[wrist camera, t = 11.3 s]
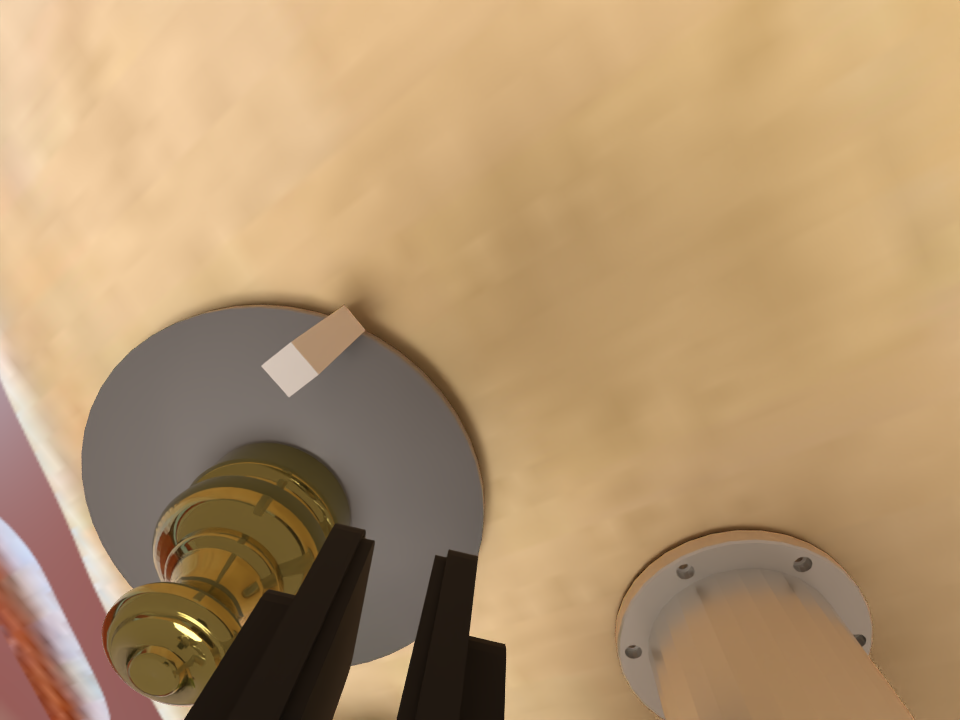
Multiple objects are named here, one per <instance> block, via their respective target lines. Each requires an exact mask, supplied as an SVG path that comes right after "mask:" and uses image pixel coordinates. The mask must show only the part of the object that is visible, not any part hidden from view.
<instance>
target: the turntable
mask: <svg viewBox="0 0 960 720" xmlns="http://www.w3.org/2000/svg"><path fill="white" fill-rule="evenodd" d="M253 443H277V444H282V445H287V446H290V447H293V448H296V449H299V450H301V451H303V452H305V453H307V454H309V455H311V456H312V457H314V458H315V459H317V460H318V461H319V462H321V463H322V464H323V465H324V466H325V467H326V468H327V469H328V470H329V471H330V472H331V473H332V474H333V475H334V476H335V478H336V479H337V481H338V482H339V484H340V485H341V487H342V489H343V491H344V493H345V495H346V498H347V501H348V505H349V510H350V526H352V527H356V528H360V529H365V530H366V536H365V538H366V539H370V540H374V541H375V546H374V551H373V556H372V562H371V567H370V572H369V577H368V582H367V587H366V592H365V598H364V603H363V608H362V613H361V618H360V623H359V629H358V634H357V639H356V644H355V649H354V654H353V659H352V663H351V666H353V665H358V664H362V663H367V662H370V661H373V660H376V659H378V658H381V657H384V656H387V655H390V654H392V653H394V652H396V651H398V650H400V649H402V648H404V647H406V646H408V645H409V644H411V643H412V642H414V641H415V639H416V635H417V630H418V626H419V622H420V618H421V613H422V609H423V605H424V601H425V596H426V592H427V588H428V584H429V579H430V575H431V571H432V567H433V562H434V558H435V555H439V556H443V557H447V554H448V550H449V549H450V550H454V551H459V552H463V553H467V554H471V555H476V556H478V553H479V549H480V544H481V540H482V531H483V519H484V494H483V482H482V478H481V473H480V469H479V464H478V460H477V457H476V454H475V452H474V449H473V446H472V443H471V441H470V438H469V436H468V434H467V432H466V430H465V428H464V426H463V424H462V422H461V421H460V419H459V417H458V415H457V413H456V412H455V410H454V409H453V407H452V406H451V405H450V403H449V402H448V400H447V399H446V398H445V396H444V395H443V393H442V392H441V391H440V389H439V388H438V387H437V386H436V385H435V384H434V383H433V382H432V381H431V380H430V379H429V378H428V377H427V375H426V374H425V373H424V372H423V371H422V370H421V369H420V368H419V367H417V366H416V365H415V364H414V363H413V362H411V361H410V360H409V359H408V358H407V357H405V356H404V355H403V354H402V353H401V352H400V351H398V350H397V349H395V348H393V347H392V346H390V345H389V344H387V343H386V342H384V341H383V340H381V339H380V338H378V337H377V336H375V335H373V334H371V333H369V332H367V331H365V329H364V328H363V326H362V325H361V324H360V323H359V322H358V320H357V319H356V318H355V317H354V316H353V314H352V313H351V312H350V311H349V310H348V308H347V307H346V306H345V305H343V306H342V307H341V308H339V309H338V310H336V311H335V312H333V313H332V314H331V315H329V316H328V315H326V314H323V313H319V312H314V311H310V310H305V309H300V308H296V307H289V306H277V305H264V304H263V305H244V306H233V307H228V308H222V309H217V310H212V311H208V312H205V313H202V314H199V315H196V316H193V317H190V318H188V319H185V320H182V321H180V322H177V323H175V324H173V325H171V326H169V327H167V328H165V329H163V330H161V331H160V332H158V333H156V334H154V335H152V336H151V337H149V338H148V339H146V340H145V341H144V342H142V343H141V344H140V345H138V346H137V347H136V348H134V349H133V350H132V351H131V352H130V353H129V354H128V355H127V356H126V357H125V358H124V359H123V360H122V361H121V362H120V363H119V364H118V365H117V366H116V367H115V368H114V370H113V371H112V372H111V374H110V375H109V377H108V378H107V380H106V381H105V383H104V384H103V385H102V387H101V389H100V391H99V393H98V395H97V397H96V399H95V401H94V403H93V405H92V408H91V410H90V414H89V417H88V421H87V424H86V427H85V431H84V439H83V446H82V480H83V486H84V492H85V498H86V502H87V506H88V509H89V512H90V516H91V519H92V522H93V525H94V527H95V529H96V531H97V534H98V536H99V538H100V540H101V542H102V545H103V546H104V548H105V550H106V551H107V553H108V555H109V556H110V558H111V560H112V561H113V563H114V565H115V566H116V568H117V569H118V570H119V571H120V573H121V574H122V575H123V577H124V578H125V579H126V581H127V582H128V583H129V585H130V586H131V587H132V588H133V589H134V588H136V587H139V586H141V585H145V584H149V583H155V582H161V581H160V579H159V577H158V575H157V572H156V569H155V566H154V562H153V555H152V539H153V534H154V529H155V526H156V523H157V521H158V519H159V517H160V515H161V514H162V512H163V510H164V509H165V508H166V506H167V505H168V504H169V503H170V502H171V501H172V500H173V499H174V498H175V497H176V496H178V495H179V494H180V493H182V492H183V491H185V490H186V489H188V488H189V487H190V485H191V484H192V483H193V481H194V480H195V479H196V478H197V477H198V476H199V475H200V474H202V473H203V472H204V471H206V470H207V469H209V468H211V467H212V466H213V465H214V464H215V463H216V462H217V461H218V460H219V459H220V458H221V457H223V456H224V455H225V454H227V453H228V452H230V451H232V450H234V449H236V448H238V447H241V446H244V445H248V444H253Z"/></svg>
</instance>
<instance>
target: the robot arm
mask: <svg viewBox="0 0 960 720" xmlns="http://www.w3.org/2000/svg"><path fill="white" fill-rule="evenodd" d="M365 536H366V530H365V529H360V528H356V527H352V526H348V525H343V524H339V523H336V524H335V525H334V526H333V528H332V529H331V531H330V533H329V535H328V537H327V539H326V540H325V542H324V544H323V546H322V548H321V550H320V551H319V553H318V555H317V557H316V559H315V561H314V562H313V564H312V566H311V568H310V570H309V572H308V573H307V575H306V577H305V579H304V581H303V583H302V584H301V586H300V588H299V590H298V592H297V594H296V595H292V594H288V593H284V592H280V591H275V590H271V589H268V590H267V591H266V592H265V593H264V594H263V595H262V597H261V598H260V599H259V601H258V603H257V604H256V606H255V607H254V609H253V611H252V612H251V614H250V615H249V617H248V618H247V620H246V622H245V623H244V625H243V626H242V628H241V630H240V631H239V633H238V634H237V636H236V638H235V639H234V641H233V642H232V644H231V646H230V647H229V649H228V650H227V652H226V654H225V655H224V657H223V658H222V660H221V662H220V663H219V665H218V666H217V668H216V670H215V671H214V673H213V674H212V676H211V678H210V679H209V681H208V682H207V684H206V685H205V687H204V689H203V690H202V692H201V693H200V695H199V697H198V698H197V700H196V701H195V703H194V705H193V706H192V708H191V709H190V711H189V713H188V714H187V716H186V717H185V719H184V720H332V719H333V716H334V713H335V711H336V708H337V705H338V702H339V699H340V696H341V693H342V691H343V688H344V685H345V682H346V679H347V676H348V673H349V670H350V666H351V663H352V659H353V654H354V649H355V644H356V639H357V634H358V629H359V623H360V618H361V613H362V608H363V603H364V598H365V592H366V587H367V582H368V577H369V572H370V567H371V562H372V556H373V551H374V546H375V541H374V540H370V539H366V538H365ZM477 562H478V556H476V555H471V554H467V553H463V552H459V551H454V550H450V549H449V550H448V554H447V557H443V556H439V555H435V558H434V562H433V567H432V571H431V575H430V579H429V584H428V588H427V592H426V596H425V601H424V605H423V609H422V613H421V618H420V622H419V626H418V630H417V635H416V639H415V643H414V647H413V652H412V656H411V660H410V664H409V669H408V673H407V677H406V681H405V686H404V690H403V694H402V699H401V703H400V707H399V712H398V716H397V720H504V708H505V677H506V646H505V644H502V643H497V642H493V641H489V640H485V639H480V638H476V637H472V636H469V631H470V622H471V614H472V605H473V596H474V588H475V579H476V570H477ZM872 633H873V624H872V619H871V615H870V611H869V606H868V604H867V602H866V600H865V598H864V596H863V594H862V592H861V591H860V589H859V587H858V586H857V585H856V583H855V582H854V581H853V580H852V578H851V577H850V576H849V575H848V573H847V572H846V571H845V570H844V569H843V568H842V567H841V566H840V565H839V564H838V563H837V562H836V561H835V560H834V559H833V558H831V557H830V556H829V555H828V554H827V553H825V552H823V551H822V550H820V549H818V548H816V547H815V546H813V545H811V544H810V543H808V542H805V541H802V540H799V539H797V538H794V537H791V536H788V535H785V534H779V533H773V532H768V531H762V530H735V531H728V532H722V533H715V534H710V535H707V536H704V537H701V538H697V539H694V540H691V541H688V542H686V543H684V544H682V545H680V546H678V547H676V548H674V549H672V550H670V551H668V552H666V553H665V554H664V555H662V556H661V557H660V558H658V559H657V560H656V561H654V562H653V563H652V564H650V565H649V566H648V567H647V568H646V569H645V570H644V571H643V572H642V573H641V574H640V575H639V576H638V578H637V579H636V580H635V581H634V582H633V584H632V585H631V587H630V588H629V590H628V592H627V593H626V595H625V597H624V598H623V601H622V604H621V606H620V609H619V612H618V615H617V621H616V630H615V639H616V646H617V653H618V658H619V661H620V665H621V669H622V673H623V675H624V677H625V679H626V681H627V683H628V685H629V687H630V688H631V690H632V691H633V693H634V694H635V695H636V696H637V697H638V698H639V700H640V701H641V702H642V703H643V704H644V705H645V706H646V707H647V708H649V709H650V710H651V711H652V712H654V713H655V714H656V715H658V716H659V717H661V718H662V719H664V720H915V719H914V718H913V716H912V715H911V714H910V712H909V711H908V709H907V708H906V707H905V705H904V704H903V703H902V701H901V700H900V699H899V697H898V696H897V694H896V693H895V692H894V690H893V689H892V688H891V686H890V685H889V683H888V682H887V681H886V679H885V678H884V677H883V675H882V674H881V673H880V671H879V670H878V668H877V667H876V666H875V664H874V663H873V662H872V660H871V659H870V658H869V654H870V650H871V646H872Z"/></svg>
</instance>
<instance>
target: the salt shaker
mask: <svg viewBox="0 0 960 720" xmlns="http://www.w3.org/2000/svg"><path fill="white" fill-rule="evenodd" d="M336 523H339V524H343V525H348V526H350V510H349V505H348V501H347V498H346V495H345V493H344V491H343V489H342V487H341V485H340V484H339V482H338V481H337V479H336V478H335V476H334V475H333V474H332V473H331V472H330V471H329V470H328V469H327V468H326V467H325V466H324V465H323V464H322V463H321V462H319V461H318V460H317V459H315V458H314V457H312V456H311V455H309V454H307V453H305V452H303V451H301V450H299V449H296V448H293V447H290V446H287V445H282V444H277V443H253V444H248V445H244V446H241V447H238V448H236V449H234V450H232V451H230V452H228V453H227V454H225V455H224V456H223V457H221V458H220V459H219V460H218V461H217V462H216V463H215V464H214V465H213V466H212V467H211V468H209V469H207V470H206V471H204V472H203V473H202V474H200V475H199V476H198V477H197V478H196V479H195V480H194V481H193V483H192V484H191V485H190V487H189V488H188V489H186V490H185V491H183V492H182V493H180V494H179V495H178V496H176V497H175V498H174V499H173V500H172V501H171V502H170V503H169V504H168V505H167V506H166V508H165V509H164V510H163V512H162V514H161V515H160V517H159V519H158V521H157V523H156V526H155V529H154V534H153V539H152V555H153V562H154V566H155V569H156V572H157V575H158V577H159V579H160V581H161V582H155V583H149V584H145V585H141V586H139V587H136V588H134V589H132V590H130V591H129V592H127V593H125V594H124V595H123V596H122V597H120V598H119V599H118V600H117V601H116V602H115V604H114V605H113V606H112V608H111V609H110V611H109V612H108V614H107V615H106V617H105V620H104V623H103V627H102V643H103V648H104V651H105V654H106V656H107V658H108V661H109V663H110V664H111V666H112V668H113V669H114V670H115V672H116V673H117V674H118V676H119V677H120V678H121V679H122V680H123V681H124V682H125V683H126V684H127V685H129V686H130V687H131V688H132V689H134V690H135V691H137V692H139V693H140V694H142V695H144V696H145V697H147V698H150V699H152V700H154V701H157V702H160V703H164V704H168V705H173V706H181V707H192V706H193V705H194V703H195V701H196V700H197V698H198V697H199V695H200V693H201V692H202V690H203V689H204V687H205V685H206V684H207V682H208V681H209V679H210V678H211V676H212V674H213V673H214V671H215V670H216V668H217V666H218V665H219V663H220V662H221V660H222V658H223V657H224V655H225V654H226V652H227V650H228V649H229V647H230V646H231V644H232V642H233V641H234V639H235V638H236V636H237V634H238V633H239V631H240V630H241V628H242V626H243V625H244V623H245V622H246V620H247V618H248V617H249V615H250V614H251V612H252V611H253V609H254V607H255V606H256V604H257V603H258V601H259V599H260V598H261V597H262V595H263V594H264V593H265V592H266V591H267V590H268V589H271V590H275V591H280V592H284V593H288V594H292V595H296V594H297V592H298V590H299V588H300V586H301V584H302V583H303V581H304V579H305V577H306V575H307V573H308V572H309V570H310V568H311V566H312V564H313V562H314V561H315V559H316V557H317V555H318V553H319V551H320V550H321V548H322V546H323V544H324V542H325V540H326V539H327V537H328V535H329V533H330V531H331V529H332V528H333V526H334V525H335V524H336Z"/></svg>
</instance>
